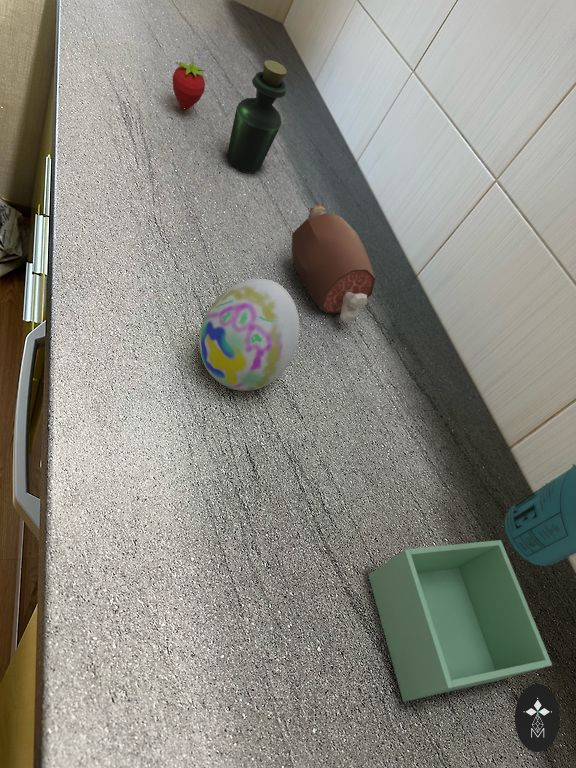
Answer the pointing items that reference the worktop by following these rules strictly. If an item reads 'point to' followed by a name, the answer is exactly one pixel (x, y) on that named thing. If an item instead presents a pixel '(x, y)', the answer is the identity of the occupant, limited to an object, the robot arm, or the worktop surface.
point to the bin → (455, 618)
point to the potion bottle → (257, 120)
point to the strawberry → (188, 85)
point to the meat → (332, 264)
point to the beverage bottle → (545, 522)
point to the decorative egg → (250, 335)
